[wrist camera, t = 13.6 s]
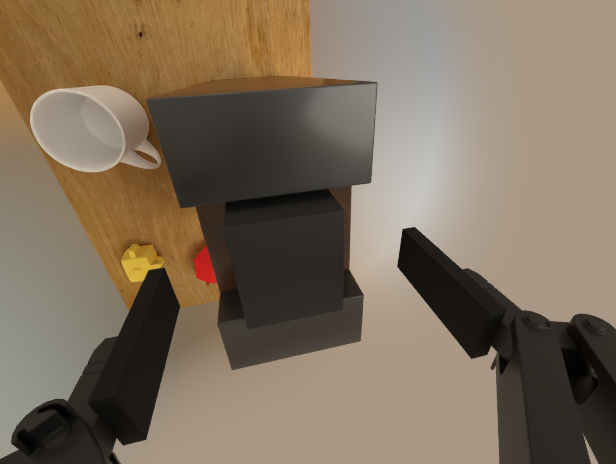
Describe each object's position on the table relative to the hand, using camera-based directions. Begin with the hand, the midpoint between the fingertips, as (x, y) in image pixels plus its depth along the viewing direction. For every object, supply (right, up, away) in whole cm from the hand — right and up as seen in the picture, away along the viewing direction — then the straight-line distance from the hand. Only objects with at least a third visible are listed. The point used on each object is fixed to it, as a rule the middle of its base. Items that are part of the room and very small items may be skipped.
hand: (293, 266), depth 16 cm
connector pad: (-1, +2, +4) cm, 4 cm away
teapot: (-28, -2, +35) cm, 44 cm away
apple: (-17, -2, +37) cm, 41 cm away
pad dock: (-7, +16, +29) cm, 34 cm away
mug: (-25, +17, +24) cm, 39 cm away
